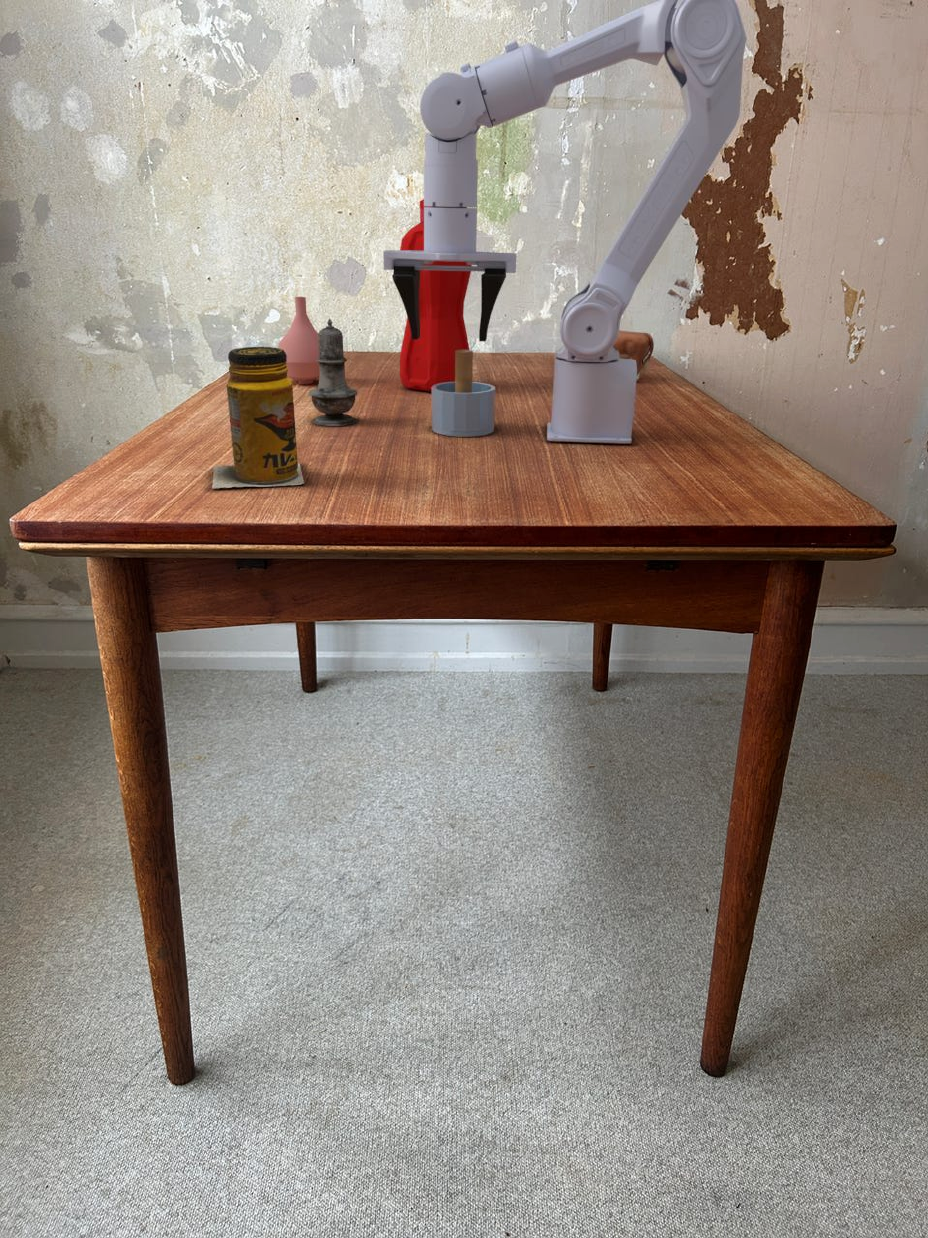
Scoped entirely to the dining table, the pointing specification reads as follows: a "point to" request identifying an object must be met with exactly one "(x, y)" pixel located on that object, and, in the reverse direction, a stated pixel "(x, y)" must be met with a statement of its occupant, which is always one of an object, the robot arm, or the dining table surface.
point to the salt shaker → (332, 381)
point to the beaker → (463, 410)
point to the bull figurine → (635, 348)
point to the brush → (463, 371)
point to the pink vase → (301, 346)
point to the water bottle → (434, 320)
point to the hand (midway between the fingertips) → (449, 339)
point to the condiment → (260, 421)
